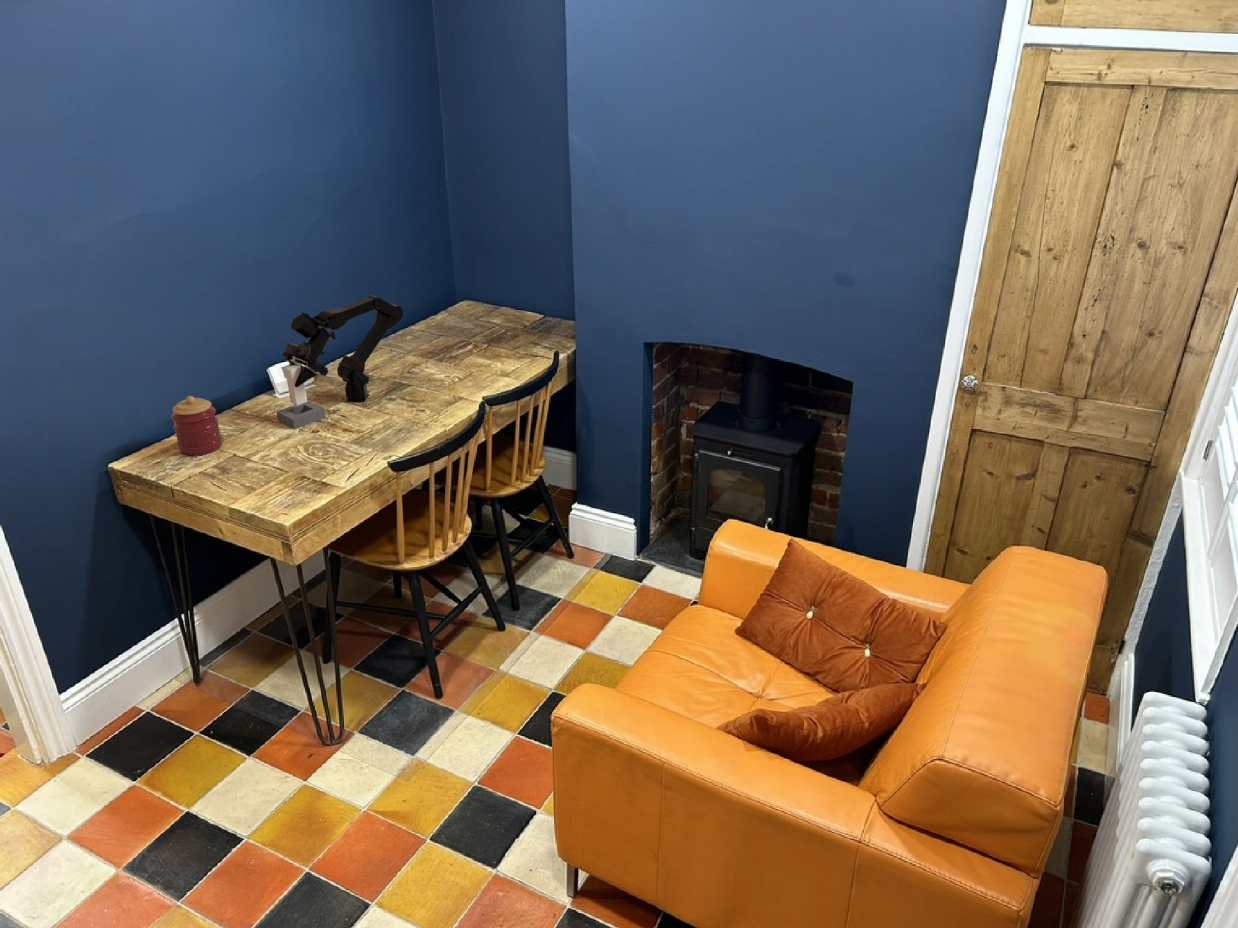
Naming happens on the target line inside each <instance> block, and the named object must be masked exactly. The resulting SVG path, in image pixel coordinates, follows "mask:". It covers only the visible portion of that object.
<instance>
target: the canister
mask: <svg viewBox="0 0 1238 928" xmlns="http://www.w3.org/2000/svg"><path fill="white" fill-rule="evenodd" d="M172 412H173V413H172V414H171V416H170V419H171V421H173V423H174V424H173V429H174V431H175V437H176V440H177V446H178V449H179V451H180V453H181V454H183V455H186V456H203V455H206V454H207V455H208V454H210V453H213V452H215V451H217V450H219V449H220V448H221V447H222V446H223V436H222V435H221V431H220V427H219V419H218V417H217V416H216V412H217V411H216V408H215V407H214V406H212V402H211V401H210V400H208V399H204V398H202V397H194V396H192V395H188V396H186V398H185V399H183V400H181V401H179V402H177V403H176V405H174V406H173V407H172Z"/></svg>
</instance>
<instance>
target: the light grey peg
mask: <svg viewBox="0 0 1238 928" xmlns="http://www.w3.org/2000/svg"><path fill="white" fill-rule="evenodd" d="M284 372H285V378H286V382H287V383H286V384H287V388H288V393H289V400H290V404H292V405H300V404H302V403H305V402H307V401H308V398H307V391H306V387H305V383H303V384H302V385H300V386H299V387H295V386H294V385H295V383H296V380H297V378H298V376H299V374H300V372H301V367H300V366H298V365H292V366H290V365H289V366H287V367H284Z"/></svg>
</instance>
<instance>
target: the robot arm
mask: <svg viewBox="0 0 1238 928" xmlns="http://www.w3.org/2000/svg"><path fill="white" fill-rule="evenodd" d="M371 311H376V315H375V322H374V324H373V325H372V327H371V328H370V330H369V331H368V332H367V334H366V335H365V337H364V338H363V340H362V341H361V342H360V344H359V345H358V346H357V348H356V349H355V351H354V352H353V354H351V355H350V356H348V355H344V356H343V357H342V359H341V360H340V362H338V363H337V366H338V367H337V369H336V372H337V376H338V377H339V378H340V379H341V380H342V381H343V382H345V388H344V391H345V396H346V402H347V403H348V402H349V403H351V402H352V403H354V402H357V403H365V402H366V401H367V399H368V398H369V396H370V393H368V388H367V384H369V381H370V377H369V376H367V375H366V374H365V373H364V372H365V369H366V362H367V361H368V359H369V357H371V355H372V354H373V352H374V350H375V349H376V348H377V346H378V345H379V344H380V342H381V341H382V339H383V338H384V336H385V335H386V334H387V332H388V331H389V330H391V329H392V328H394V327H395V326H397V325H398V324H399V323H400V321H402V320H403V318H404V310H403V308H402V307H401V306H400V305H397V304H393V303H390V302H388V301H386V300H384V299H382V298H381V297H379V296H375V295H373V294H372V295H368V296H367V297H365V298H363V299H360V300H358V301H354V302H352V303H350V304H348V305H345V306H342V307H338V308H337V307H336V308H334V307H333V308H327V309H323V310H321V311H320V312H319V314H317V315H315V316H313V317H311V316H310V315H309V314H308V313H306V312H301V314H299V315H297V316H296V317H295V318H293V320H292V321H291V324H290V327H291V329H292V330H293V331H294V332H296V333H297V334H298V335H300V336H301V337H303V338H305V339H307V341H306V342H305V341H303V342H302V343H299V344H296V343H290V342H286V347H285V350H284V352H283V353H282V354H281V357H283V358H284V359H286V360H287V363H288V364H289V366H292V365H298V366H300V367H301V372H300V374H299V376H298V378H297V380H296V383H295V385H294V386H295V387H299V386H300V385H302V384H303V383H304V384H305V383H306V382H307V381H310V380H311V379H312V378H315V376H318V375H321V376H323V377H327V374H328V373H329V369H328V367H327V366H325V365H323V364H322V363H320V362H318V360H319V359H320V356H324V355H325V352H324V349H325V347H326V346H327V344H328V343H329V341H330V340H332V341H336V340H337V337H336V334H335V331H337V330H339V329H341V328H343V326H345V325H346V324H347V322H348V321H350V320H352V319H354V318H357V317H360V316H361V315H364V314H366V313H369V312H371ZM328 329H329V330H328Z"/></svg>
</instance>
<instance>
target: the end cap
mask: <svg viewBox="0 0 1238 928" xmlns="http://www.w3.org/2000/svg"><path fill="white" fill-rule="evenodd" d="M276 417H277V422H279V423H281V424H284V425H285V426H287V427H290V428H291V429H294V430H297V429H299V428H302V427H305V426H306V425H310V424H312V423H315V422H317V421H321V420H323V419H326V418H327V416H326V411H325V407H323V406H320V405H318V404H317V403H314V402H312V401H310V400H307V402H305V403H302V404H300V405H295V404H293V405H291V406H288V407H286V408H283V409H279V410H277V411H276Z"/></svg>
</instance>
